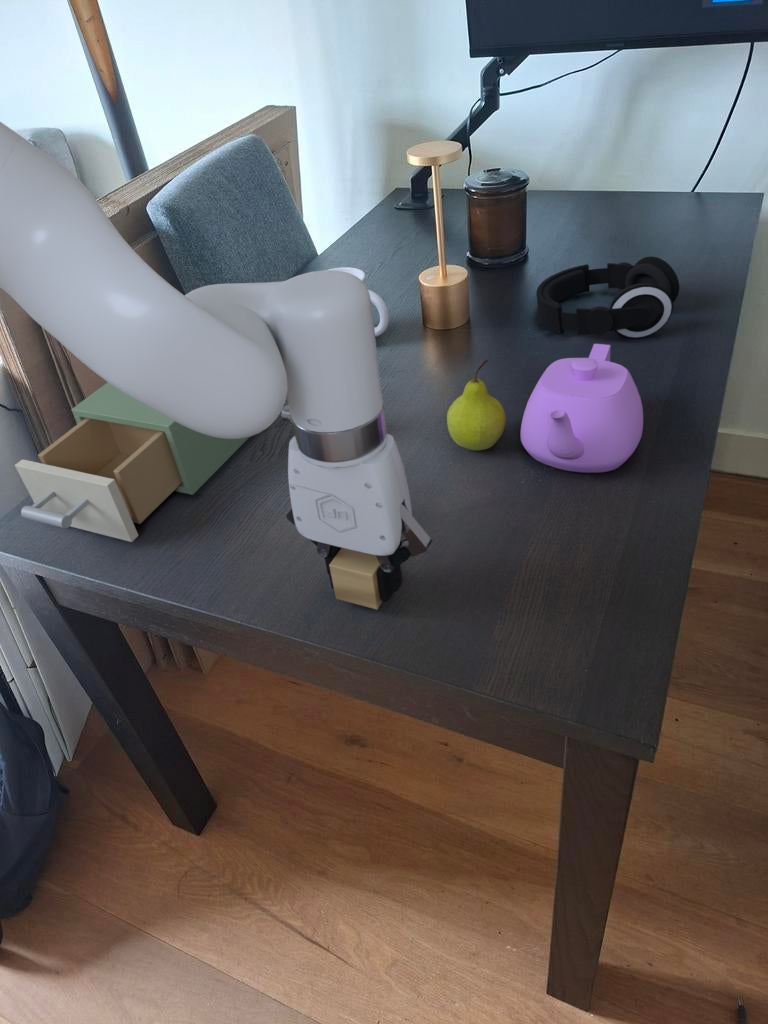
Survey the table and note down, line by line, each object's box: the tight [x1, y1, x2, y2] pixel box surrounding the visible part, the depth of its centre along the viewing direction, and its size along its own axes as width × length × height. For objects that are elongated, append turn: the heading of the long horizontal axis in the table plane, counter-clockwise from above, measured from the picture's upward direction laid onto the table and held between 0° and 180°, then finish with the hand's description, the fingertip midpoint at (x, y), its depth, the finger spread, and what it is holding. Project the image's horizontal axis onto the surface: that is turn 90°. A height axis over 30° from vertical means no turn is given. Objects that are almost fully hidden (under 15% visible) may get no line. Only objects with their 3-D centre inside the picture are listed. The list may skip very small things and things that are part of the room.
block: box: [329, 548, 383, 610], centre depth 73 cm, size 4×4×4 cm
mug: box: [324, 266, 390, 338], centre depth 114 cm, size 12×8×10 cm
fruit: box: [446, 359, 507, 452], centre depth 88 cm, size 7×7×12 cm
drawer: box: [14, 418, 183, 543], centre depth 87 cm, size 18×14×8 cm
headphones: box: [535, 255, 680, 339], centre depth 112 cm, size 18×8×20 cm
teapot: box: [519, 343, 644, 473], centre depth 85 cm, size 13×20×11 cm
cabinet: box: [71, 381, 250, 496], centre depth 96 cm, size 15×15×10 cm
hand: (365, 584), depth 74 cm, fingers closed on block, 4 cm apart
